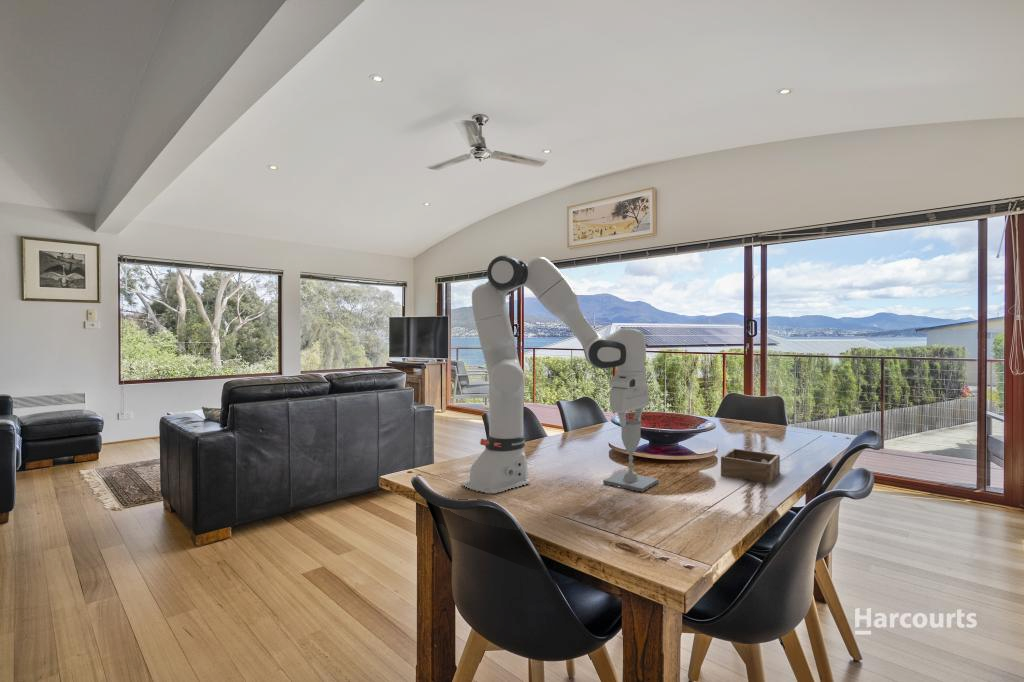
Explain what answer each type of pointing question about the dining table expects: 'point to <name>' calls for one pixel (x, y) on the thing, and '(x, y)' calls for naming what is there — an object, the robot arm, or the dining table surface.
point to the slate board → (639, 485)
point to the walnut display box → (750, 465)
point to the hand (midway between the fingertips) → (630, 423)
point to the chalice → (631, 446)
